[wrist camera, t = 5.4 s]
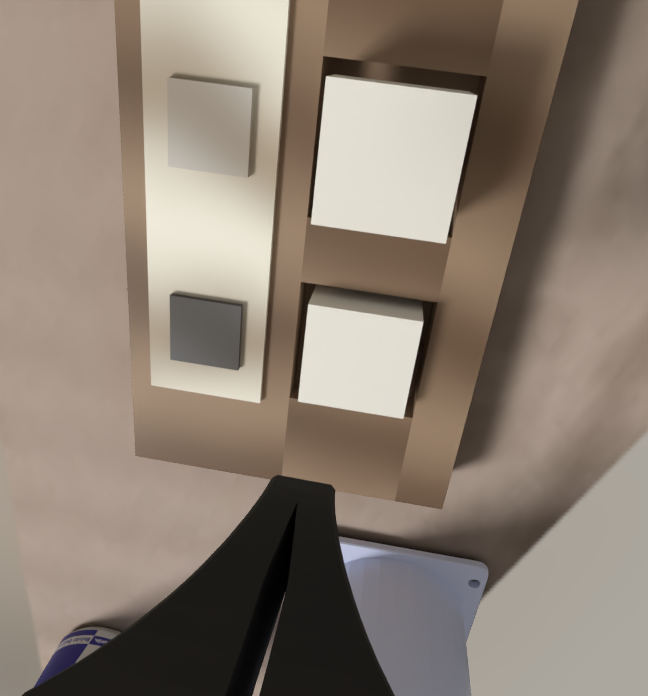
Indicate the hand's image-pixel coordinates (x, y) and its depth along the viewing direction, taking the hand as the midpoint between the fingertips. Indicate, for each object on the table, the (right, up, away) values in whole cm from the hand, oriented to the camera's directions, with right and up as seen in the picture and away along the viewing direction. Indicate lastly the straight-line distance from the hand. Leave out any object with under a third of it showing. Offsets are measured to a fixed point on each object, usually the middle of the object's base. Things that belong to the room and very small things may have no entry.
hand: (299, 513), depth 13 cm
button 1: (+2, +4, +8) cm, 9 cm away
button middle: (+2, +9, +3) cm, 10 cm away
